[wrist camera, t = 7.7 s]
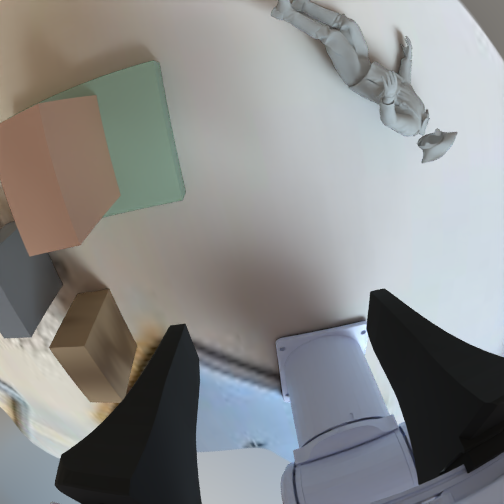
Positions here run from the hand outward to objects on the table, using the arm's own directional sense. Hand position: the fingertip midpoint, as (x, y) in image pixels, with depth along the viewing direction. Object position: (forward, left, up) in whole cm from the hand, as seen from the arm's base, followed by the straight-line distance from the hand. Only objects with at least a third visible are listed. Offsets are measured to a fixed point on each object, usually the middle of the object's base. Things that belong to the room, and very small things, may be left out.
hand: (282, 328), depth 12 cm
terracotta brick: (+7, +9, -8) cm, 14 cm away
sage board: (+7, +9, -9) cm, 15 cm away
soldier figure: (+9, -7, -10) cm, 15 cm away
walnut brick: (-6, +13, -10) cm, 17 cm away
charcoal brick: (+1, +17, -10) cm, 20 cm away
